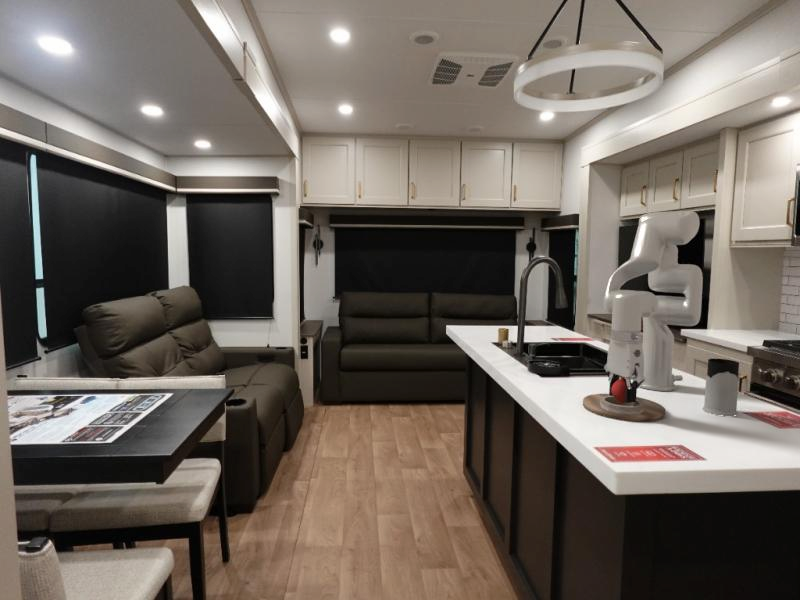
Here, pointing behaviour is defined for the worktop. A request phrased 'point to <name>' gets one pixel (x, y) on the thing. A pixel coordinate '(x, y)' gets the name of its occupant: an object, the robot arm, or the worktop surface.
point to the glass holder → (721, 387)
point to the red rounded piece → (619, 390)
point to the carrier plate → (643, 417)
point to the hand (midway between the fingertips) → (622, 398)
